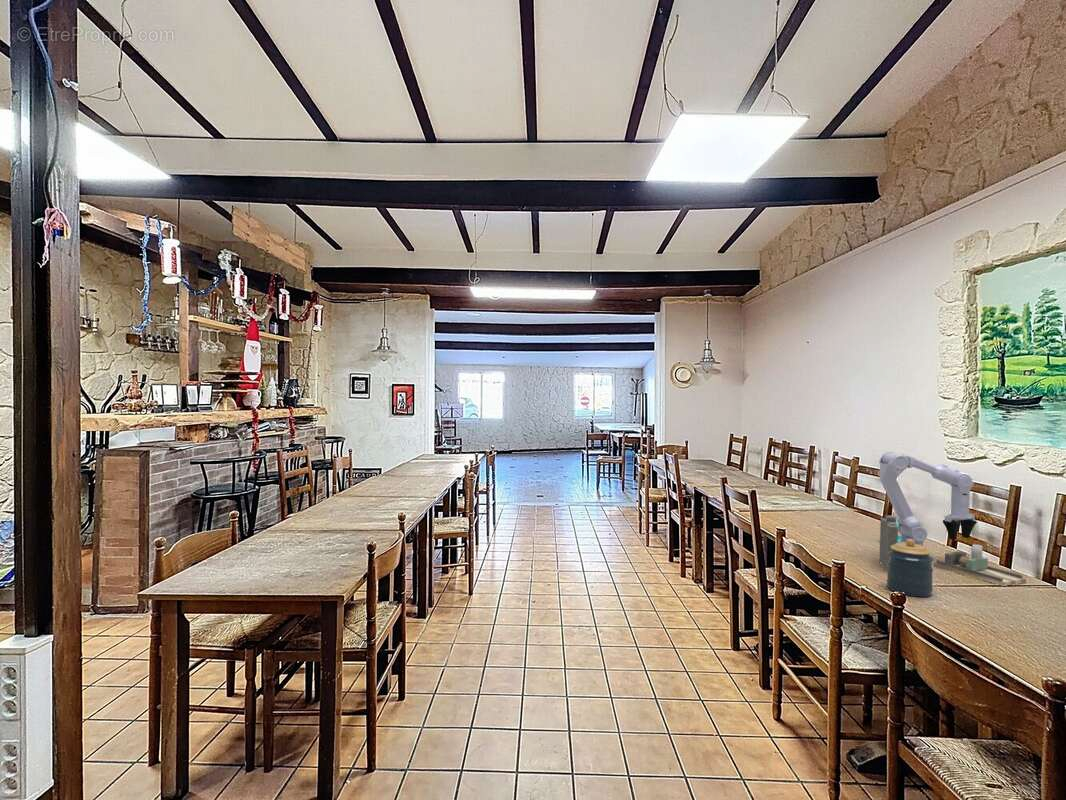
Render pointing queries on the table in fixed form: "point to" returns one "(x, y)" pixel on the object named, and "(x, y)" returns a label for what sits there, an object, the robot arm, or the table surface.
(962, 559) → the walnut
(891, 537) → the hip flask
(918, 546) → the canister
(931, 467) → the robot arm
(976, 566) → the sliding jaw
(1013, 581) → the base
